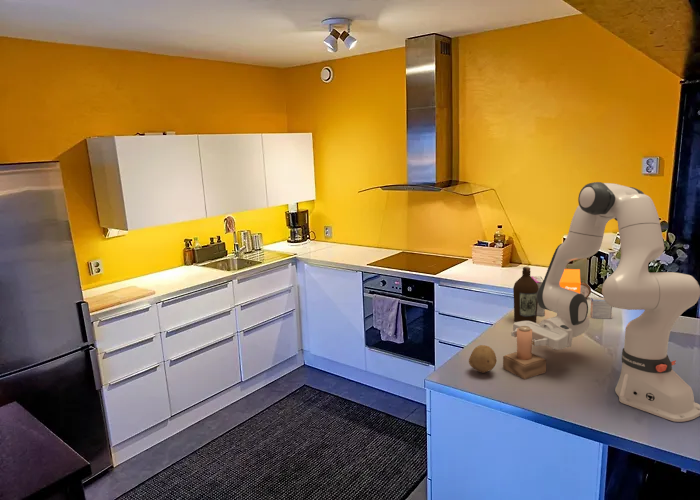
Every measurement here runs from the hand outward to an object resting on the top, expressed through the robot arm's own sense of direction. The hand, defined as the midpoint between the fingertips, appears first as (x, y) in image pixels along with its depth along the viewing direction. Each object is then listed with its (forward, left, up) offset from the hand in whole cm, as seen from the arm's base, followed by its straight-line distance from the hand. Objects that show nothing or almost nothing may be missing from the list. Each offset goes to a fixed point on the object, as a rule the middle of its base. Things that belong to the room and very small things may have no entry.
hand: (523, 338), depth 163 cm
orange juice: (+36, -67, -12) cm, 77 cm away
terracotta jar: (0, -1, -7) cm, 7 cm away
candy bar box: (+41, -52, -12) cm, 67 cm away
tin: (+47, -85, -12) cm, 98 cm away
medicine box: (+21, -70, -12) cm, 74 cm away
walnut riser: (0, -1, -12) cm, 12 cm away
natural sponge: (+6, +12, -12) cm, 18 cm away
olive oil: (+35, -38, -12) cm, 53 cm away
